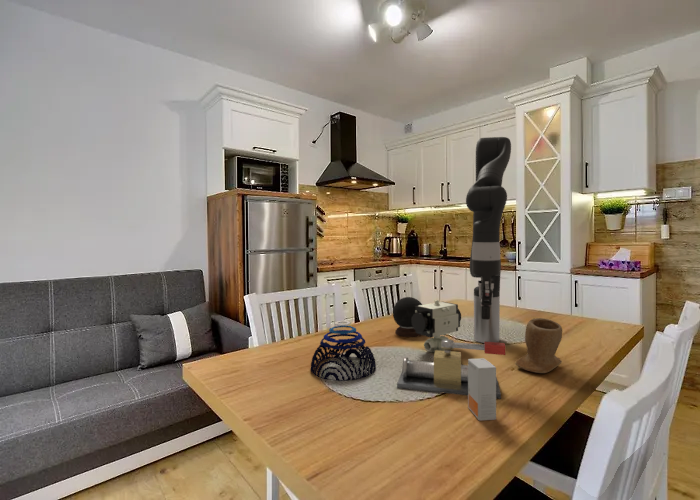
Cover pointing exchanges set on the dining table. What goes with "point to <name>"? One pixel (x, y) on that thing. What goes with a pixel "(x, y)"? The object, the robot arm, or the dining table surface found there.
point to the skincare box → (482, 389)
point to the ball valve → (436, 322)
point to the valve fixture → (438, 374)
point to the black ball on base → (405, 316)
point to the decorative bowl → (347, 354)
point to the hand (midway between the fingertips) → (485, 318)
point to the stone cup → (541, 346)
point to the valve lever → (476, 346)
